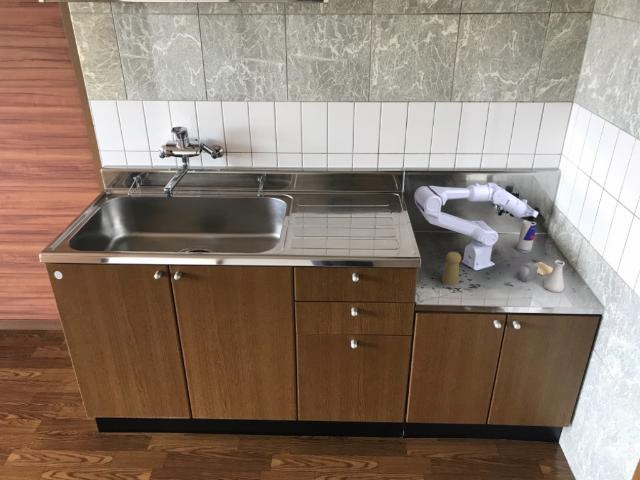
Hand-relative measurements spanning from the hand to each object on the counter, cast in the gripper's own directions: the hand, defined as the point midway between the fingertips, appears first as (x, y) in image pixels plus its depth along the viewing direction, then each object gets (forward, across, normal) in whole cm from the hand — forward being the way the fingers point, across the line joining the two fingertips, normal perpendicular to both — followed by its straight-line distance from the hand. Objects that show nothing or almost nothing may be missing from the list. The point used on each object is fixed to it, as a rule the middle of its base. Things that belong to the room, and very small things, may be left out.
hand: (535, 219), depth 191 cm
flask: (+6, -17, +20) cm, 27 cm away
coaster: (+8, -6, +16) cm, 18 cm away
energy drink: (+10, +8, +11) cm, 17 cm away
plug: (+1, -9, +21) cm, 23 cm away
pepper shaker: (-22, -1, +35) cm, 41 cm away
